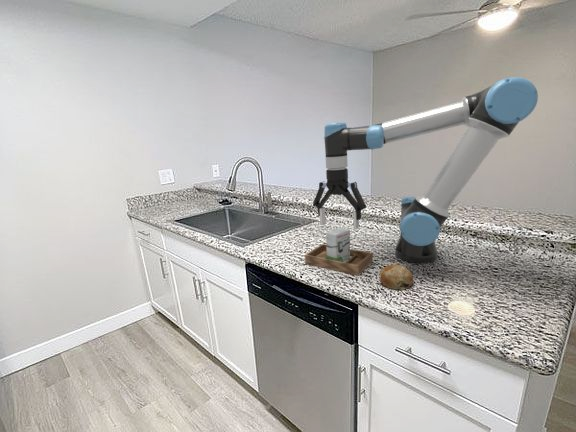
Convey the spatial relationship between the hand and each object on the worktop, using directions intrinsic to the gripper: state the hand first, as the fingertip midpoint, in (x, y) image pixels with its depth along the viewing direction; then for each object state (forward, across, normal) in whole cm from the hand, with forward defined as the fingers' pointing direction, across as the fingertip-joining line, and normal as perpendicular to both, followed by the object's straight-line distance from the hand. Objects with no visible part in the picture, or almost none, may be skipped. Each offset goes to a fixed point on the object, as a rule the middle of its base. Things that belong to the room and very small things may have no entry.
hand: (339, 226), depth 112 cm
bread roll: (+15, -22, +6) cm, 28 cm away
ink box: (+14, +1, 0) cm, 14 cm away
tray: (+14, +1, 0) cm, 15 cm away
